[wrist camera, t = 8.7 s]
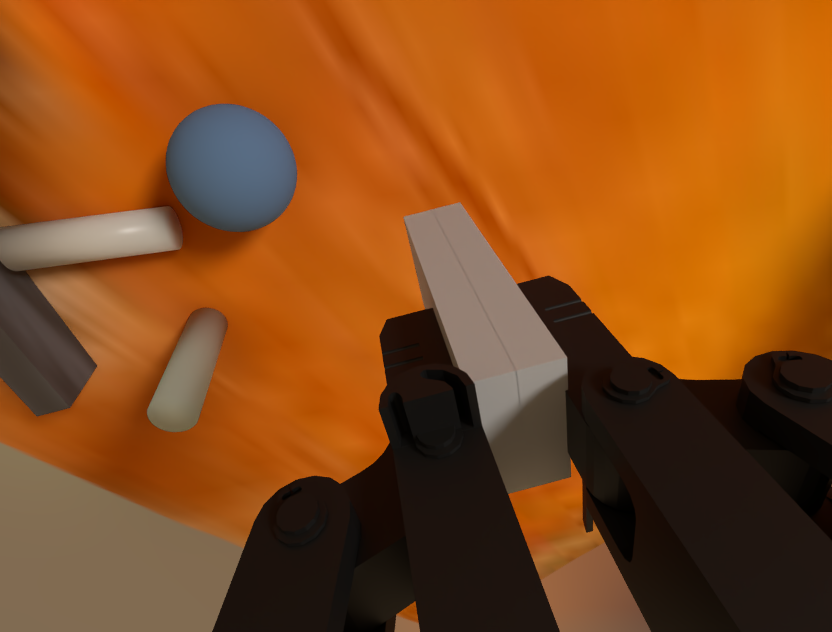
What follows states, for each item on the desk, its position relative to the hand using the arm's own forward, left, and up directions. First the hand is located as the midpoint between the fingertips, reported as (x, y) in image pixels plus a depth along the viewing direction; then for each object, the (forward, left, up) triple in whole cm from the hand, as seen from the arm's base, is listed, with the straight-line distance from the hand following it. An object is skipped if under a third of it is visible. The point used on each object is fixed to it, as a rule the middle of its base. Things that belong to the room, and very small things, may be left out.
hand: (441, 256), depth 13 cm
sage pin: (+14, +9, -16) cm, 23 cm away
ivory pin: (+13, +2, -15) cm, 20 cm away
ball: (+8, -1, -13) cm, 15 cm away
